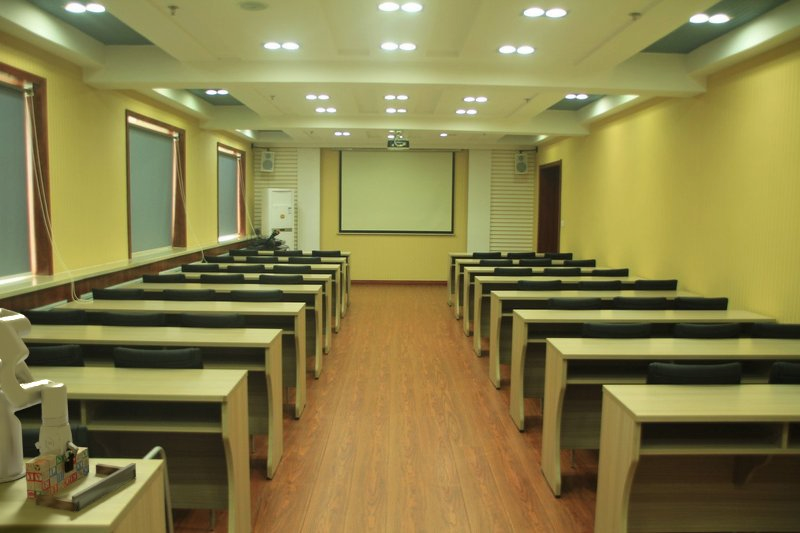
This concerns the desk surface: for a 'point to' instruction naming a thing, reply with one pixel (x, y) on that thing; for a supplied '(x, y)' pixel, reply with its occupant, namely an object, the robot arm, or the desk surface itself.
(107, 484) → the u-shaped fence
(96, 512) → the desk surface
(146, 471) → the desk surface
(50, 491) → the stack of blocks
